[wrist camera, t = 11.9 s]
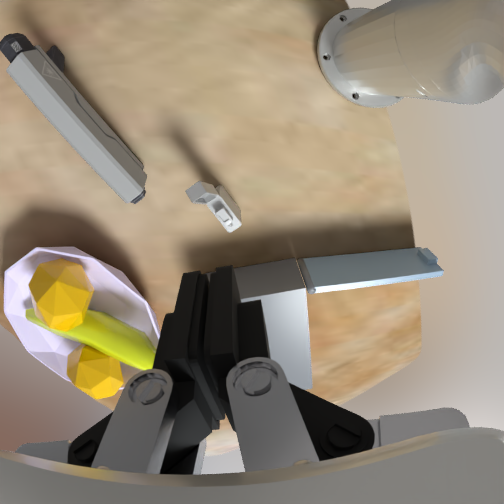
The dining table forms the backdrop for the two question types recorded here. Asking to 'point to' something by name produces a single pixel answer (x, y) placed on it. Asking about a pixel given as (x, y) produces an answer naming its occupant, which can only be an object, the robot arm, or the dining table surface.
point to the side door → (367, 269)
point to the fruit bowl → (80, 318)
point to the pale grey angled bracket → (217, 203)
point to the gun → (73, 115)
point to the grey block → (281, 314)
